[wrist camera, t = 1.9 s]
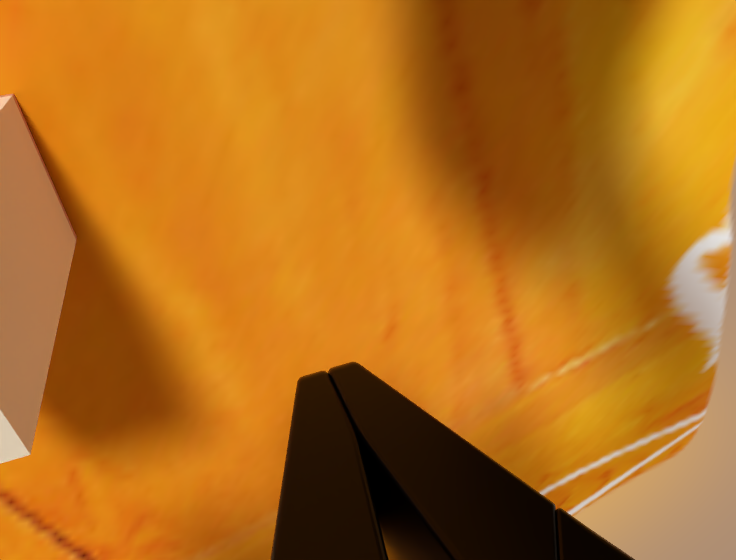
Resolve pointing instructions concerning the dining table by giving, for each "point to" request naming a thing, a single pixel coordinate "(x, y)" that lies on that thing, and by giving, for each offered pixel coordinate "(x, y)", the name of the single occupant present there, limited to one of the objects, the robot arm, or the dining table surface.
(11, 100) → the cream block
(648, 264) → the dining table surface
